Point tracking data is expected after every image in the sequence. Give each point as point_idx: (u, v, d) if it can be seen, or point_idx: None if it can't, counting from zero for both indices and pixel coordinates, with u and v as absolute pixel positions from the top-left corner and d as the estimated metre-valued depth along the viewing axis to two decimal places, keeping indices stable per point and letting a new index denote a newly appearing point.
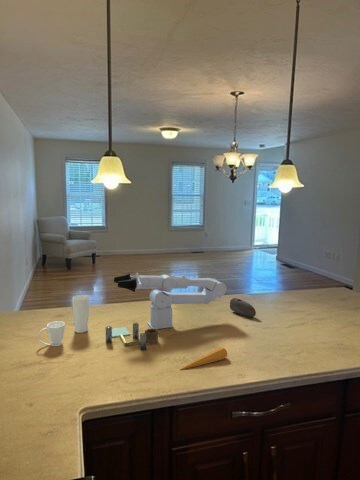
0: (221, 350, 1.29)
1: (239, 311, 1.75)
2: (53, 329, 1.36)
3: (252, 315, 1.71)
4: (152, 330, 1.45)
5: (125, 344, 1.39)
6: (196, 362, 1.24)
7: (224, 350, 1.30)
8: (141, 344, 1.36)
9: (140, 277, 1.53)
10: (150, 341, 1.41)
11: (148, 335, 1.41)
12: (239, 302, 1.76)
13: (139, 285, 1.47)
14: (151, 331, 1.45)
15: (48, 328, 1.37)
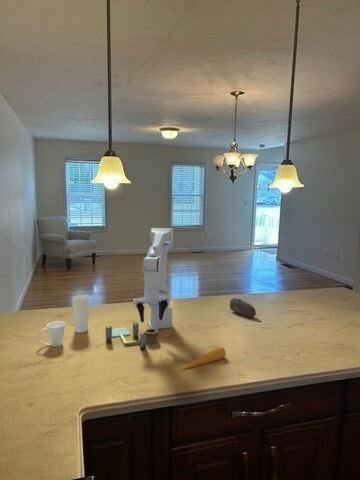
0: (220, 349, 1.30)
1: (239, 311, 1.75)
2: (53, 329, 1.36)
3: (252, 315, 1.71)
4: (152, 330, 1.45)
5: (125, 344, 1.39)
6: (196, 362, 1.25)
7: (223, 349, 1.30)
8: (141, 344, 1.36)
9: (157, 297, 1.39)
10: (150, 341, 1.41)
11: (148, 335, 1.41)
12: (239, 302, 1.76)
13: None
14: (151, 331, 1.45)
15: (48, 328, 1.37)
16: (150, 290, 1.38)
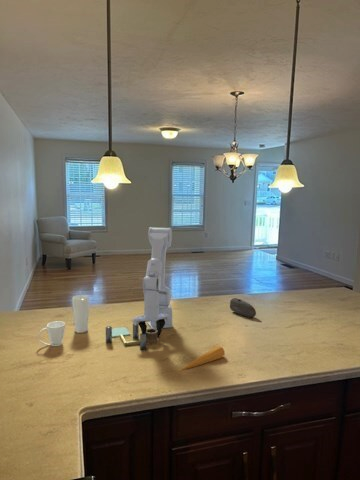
0: (219, 349, 1.30)
1: (239, 311, 1.75)
2: (53, 329, 1.36)
3: (252, 315, 1.71)
4: (152, 330, 1.45)
5: (125, 344, 1.39)
6: (195, 362, 1.25)
7: (221, 349, 1.31)
8: (141, 344, 1.36)
9: (156, 315, 1.40)
10: (150, 341, 1.41)
11: (148, 335, 1.41)
12: (239, 302, 1.76)
13: None
14: (151, 331, 1.45)
15: (48, 328, 1.37)
16: (150, 309, 1.39)
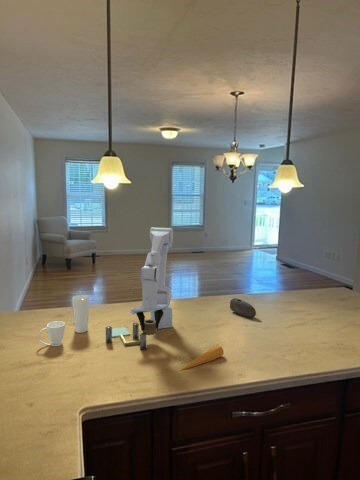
0: (218, 348, 1.31)
1: (239, 311, 1.75)
2: (53, 329, 1.36)
3: (252, 315, 1.71)
4: (151, 321, 1.44)
5: (125, 344, 1.39)
6: (195, 362, 1.25)
7: (220, 348, 1.31)
8: (141, 344, 1.36)
9: (155, 306, 1.40)
10: (148, 332, 1.40)
11: (146, 325, 1.40)
12: (239, 302, 1.76)
13: None
14: (149, 322, 1.44)
15: (48, 328, 1.37)
16: (148, 299, 1.38)
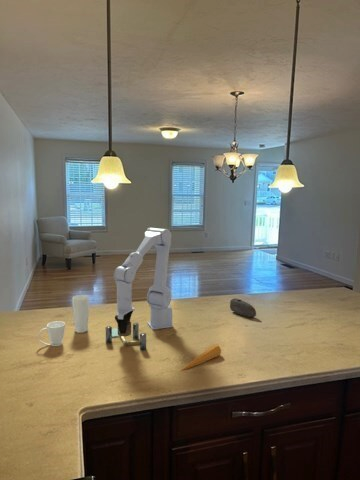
0: (215, 347, 1.31)
1: (239, 311, 1.75)
2: (53, 329, 1.36)
3: (252, 315, 1.71)
4: None
5: (125, 344, 1.39)
6: (194, 362, 1.25)
7: (218, 347, 1.32)
8: (141, 344, 1.36)
9: None
10: (130, 332, 1.40)
11: (128, 326, 1.39)
12: (239, 302, 1.76)
13: None
14: None
15: (48, 328, 1.37)
16: (130, 299, 1.38)
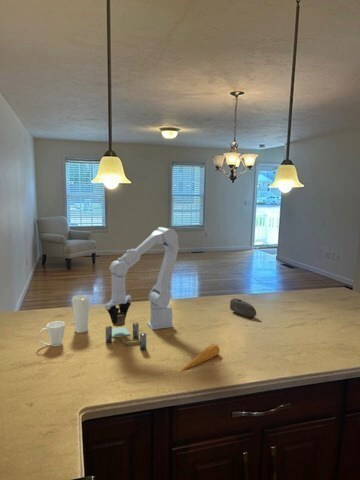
0: (214, 347, 1.32)
1: (239, 311, 1.75)
2: (53, 329, 1.36)
3: (252, 315, 1.71)
4: None
5: (125, 344, 1.39)
6: (194, 362, 1.25)
7: (216, 347, 1.33)
8: (141, 344, 1.36)
9: (125, 298, 1.49)
10: (121, 323, 1.49)
11: (119, 317, 1.48)
12: (239, 302, 1.75)
13: None
14: None
15: (48, 328, 1.37)
16: (121, 292, 1.46)
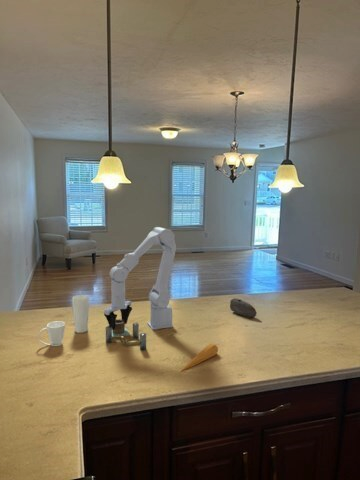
0: (212, 346, 1.32)
1: (240, 311, 1.75)
2: (53, 329, 1.36)
3: (253, 315, 1.71)
4: (117, 321, 1.53)
5: (125, 344, 1.39)
6: (193, 361, 1.25)
7: (215, 346, 1.33)
8: (141, 344, 1.36)
9: (125, 303, 1.50)
10: (121, 331, 1.49)
11: (118, 325, 1.49)
12: (239, 302, 1.75)
13: None
14: (116, 322, 1.53)
15: (48, 328, 1.37)
16: (120, 298, 1.47)
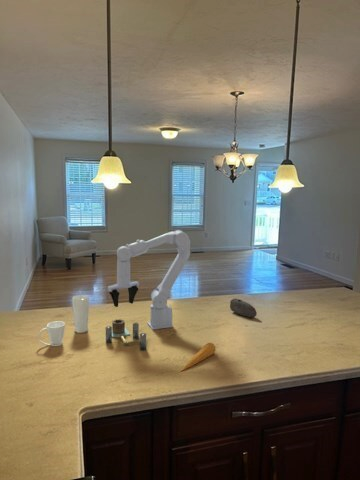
0: (210, 345, 1.33)
1: (240, 311, 1.75)
2: (53, 329, 1.36)
3: (253, 315, 1.71)
4: (117, 321, 1.53)
5: (125, 344, 1.39)
6: (193, 361, 1.25)
7: (213, 345, 1.34)
8: (141, 344, 1.36)
9: (129, 282, 1.54)
10: (121, 331, 1.49)
11: (118, 325, 1.49)
12: (239, 302, 1.75)
13: None
14: (116, 322, 1.53)
15: (48, 328, 1.37)
16: (124, 277, 1.52)
